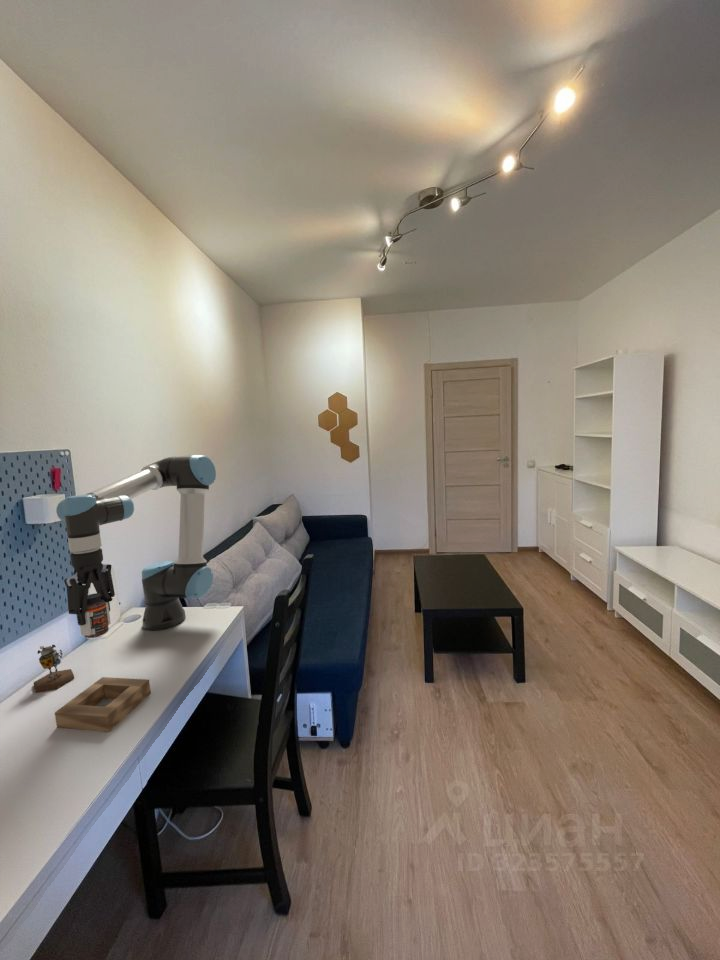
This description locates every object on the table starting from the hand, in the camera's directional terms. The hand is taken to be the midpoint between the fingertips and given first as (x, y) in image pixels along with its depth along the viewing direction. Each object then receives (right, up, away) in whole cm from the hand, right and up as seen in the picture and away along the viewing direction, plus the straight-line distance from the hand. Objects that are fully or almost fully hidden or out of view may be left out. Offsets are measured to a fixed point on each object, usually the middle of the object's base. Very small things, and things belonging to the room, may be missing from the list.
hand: (96, 629), depth 118 cm
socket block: (+8, -18, -9) cm, 22 cm away
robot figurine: (-16, -18, +6) cm, 25 cm away
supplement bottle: (0, -2, 0) cm, 2 cm away
